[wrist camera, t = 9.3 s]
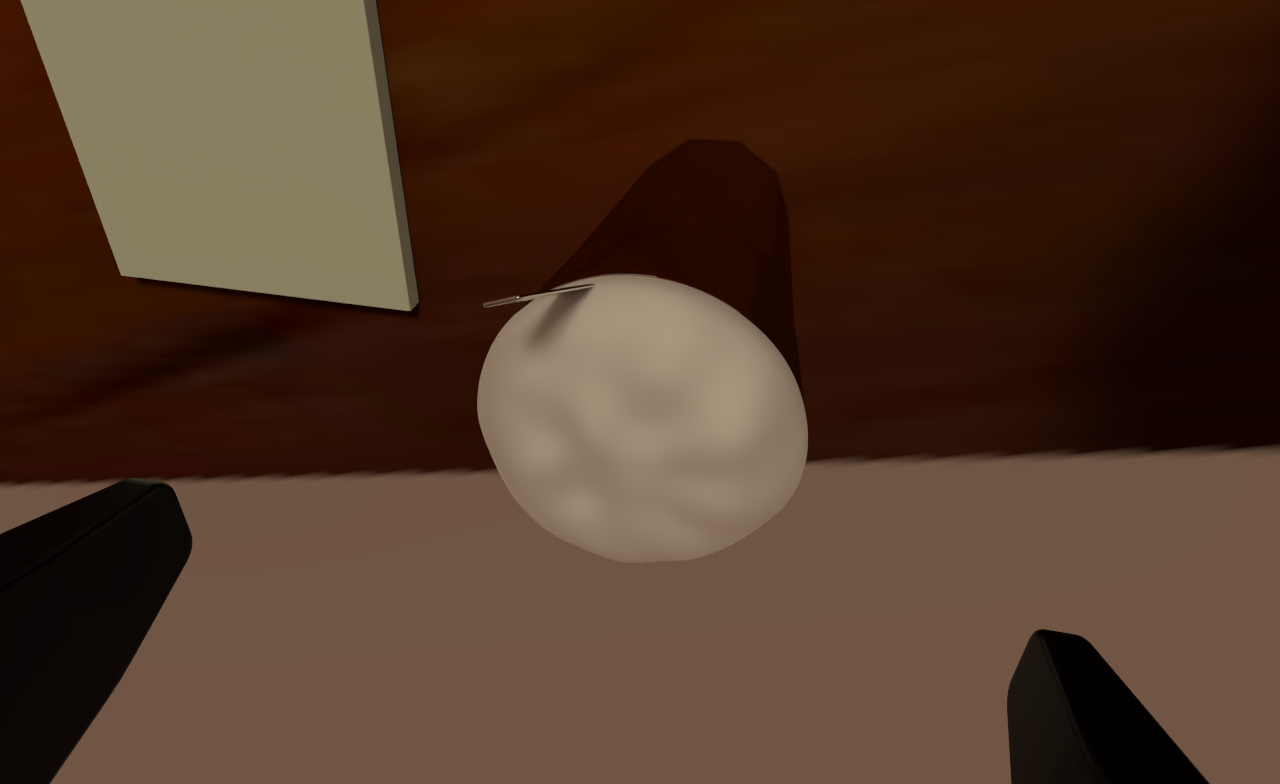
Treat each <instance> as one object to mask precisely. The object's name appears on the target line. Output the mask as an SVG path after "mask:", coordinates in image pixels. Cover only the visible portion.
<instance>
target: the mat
mask: <svg viewBox="0 0 1280 784" xmlns="http://www.w3.org/2000/svg"><path fill="white" fill-rule="evenodd" d="M21 3H22V5H23V8H24V11H25V14H26V16H27V19H28V22H29V24H30V27H31V30H32V33H33V35H34V38H35V41H36V44H37V46H38V49H39V52H40V55H41V57H42V60H43V63H44V65H45V68H46V71H47V74H48V76H49V79H50V82H51V85H52V87H53V90H54V93H55V96H56V98H57V101H58V104H59V106H60V109H61V112H62V115H63V117H64V120H65V123H66V126H67V128H68V131H69V134H70V137H71V139H72V142H73V145H74V147H75V150H76V153H77V156H78V158H79V161H80V164H81V167H82V169H83V172H84V175H85V178H86V180H87V183H88V186H89V188H90V191H91V194H92V197H93V199H94V202H95V205H96V208H97V210H98V213H99V216H100V219H101V221H102V224H103V227H104V229H105V232H106V235H107V238H108V240H109V243H110V246H111V249H112V251H113V254H114V257H115V260H116V262H117V265H118V268H119V270H120V273H121V275H123V276H131V277H139V278H147V279H155V280H163V281H171V282H179V283H187V284H195V285H203V286H211V287H219V288H227V289H235V290H243V291H251V292H259V293H267V294H275V295H284V296H292V297H300V298H308V299H316V300H324V301H332V302H340V303H348V304H356V305H364V306H372V307H380V308H388V309H396V310H404V311H411V310H412V309H413V308H414V307H415V306H416V305H417V303H418V302H419V299H418V292H417V285H416V278H415V271H414V264H413V257H412V250H411V243H410V236H409V229H408V222H407V215H406V208H405V201H404V194H403V187H402V180H401V173H400V166H399V159H398V152H397V145H396V138H395V131H394V124H393V117H392V110H391V103H390V96H389V89H388V82H387V75H386V68H385V61H384V54H383V47H382V40H381V33H380V26H379V19H378V12H377V5H376V0H21Z"/></svg>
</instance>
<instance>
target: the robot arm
mask: <svg viewBox="0 0 1280 784" xmlns="http://www.w3.org/2000/svg"><path fill="white" fill-rule="evenodd" d="M191 549H192V535H191V532H190V529H189V527H188V524H187V522H186V519H185V517H184V514H183V512H182V509H181V507H180V504H179V501H178V499H177V496H176V494H175V492H174V490H173V489H172V488H171V487H170V486H169V485H168V484H166V483H164V482H159V481H153V480H147V479H141V478H130V479H126V480H123V481H121V482H118V483H116V484H114V485H111V486H109V487H107V488H105V489H102V490H100V491H98V492H95V493H93V494H91V495H89V496H86V497H84V498H82V499H79V500H77V501H75V502H73V503H70V504H68V505H66V506H64V507H61V508H59V509H57V510H54V511H52V512H50V513H47V514H45V515H43V516H41V517H38V518H36V519H34V520H31V521H29V522H27V523H25V524H22V525H20V526H18V527H15V528H13V529H11V530H9V531H6V532H4V533H2V534H0V784H50V783H51V781H52V780H53V779H54V777H55V776H56V774H57V773H58V771H59V770H60V768H61V767H62V765H63V764H64V762H65V761H66V760H67V758H68V757H69V755H70V754H71V752H72V751H73V749H74V748H75V746H76V745H77V743H78V742H79V741H80V739H81V738H82V736H83V735H84V733H85V732H86V730H87V729H88V728H89V726H90V724H91V723H92V721H93V720H94V719H95V717H96V716H97V714H98V713H99V711H100V710H101V709H102V707H103V706H104V704H105V703H106V701H107V700H108V698H109V697H110V695H111V693H112V692H113V691H114V689H115V687H116V686H117V684H118V683H119V681H120V680H121V678H122V676H123V675H124V673H125V671H126V669H127V668H128V666H129V664H130V663H131V661H132V659H133V657H134V656H135V654H136V652H137V650H138V648H139V647H140V645H141V643H142V641H143V640H144V638H145V636H146V634H147V632H148V630H149V629H150V627H151V625H152V623H153V621H154V620H155V618H156V616H157V614H158V612H159V610H160V609H161V607H162V605H163V604H164V602H165V600H166V598H167V596H168V595H169V592H170V591H171V589H172V587H173V585H174V584H175V582H176V580H177V578H178V576H179V575H180V573H181V571H182V569H183V567H184V566H185V564H186V562H187V560H188V558H189V556H190V553H191ZM1007 715H1008V730H1009V731H1008V732H1009V748H1010V766H1011V783H1012V784H1210V783H1209V782H1208V781H1207V780H1206V779H1205V778H1204V776H1203V775H1202V774H1201V773H1200V772H1199V771H1198V769H1197V768H1196V767H1195V766H1194V765H1193V763H1192V762H1191V761H1190V760H1189V759H1188V757H1187V756H1186V755H1185V754H1184V753H1183V752H1182V750H1181V749H1180V748H1179V747H1178V746H1177V745H1176V743H1174V741H1173V740H1172V739H1171V738H1170V736H1169V735H1168V734H1167V733H1166V732H1165V730H1164V729H1163V728H1162V727H1161V726H1160V725H1159V723H1158V722H1157V721H1156V720H1155V719H1154V718H1153V716H1152V715H1151V714H1150V713H1149V712H1148V710H1147V709H1146V708H1145V707H1144V706H1143V705H1142V704H1141V702H1140V701H1139V700H1138V699H1137V697H1136V696H1135V695H1134V694H1133V693H1132V692H1131V690H1130V689H1129V688H1128V687H1127V686H1126V685H1125V683H1124V682H1123V681H1122V680H1121V679H1120V677H1119V676H1118V675H1117V674H1116V673H1115V672H1114V671H1113V669H1112V668H1111V667H1110V666H1109V665H1108V663H1107V662H1106V661H1105V660H1104V659H1103V657H1102V656H1101V655H1100V654H1099V653H1098V652H1097V650H1096V649H1095V648H1094V647H1093V646H1092V645H1091V644H1090V642H1088V641H1087V640H1086V639H1085V638H1083V637H1081V636H1079V635H1074V634H1069V633H1063V632H1057V631H1050V630H1044V629H1042V630H1037V631H1035V632H1034V633H1033V634H1032V636H1031V638H1030V639H1029V641H1028V643H1027V646H1026V648H1025V650H1024V652H1023V655H1022V657H1021V659H1020V661H1019V664H1018V666H1017V668H1016V670H1015V673H1014V675H1013V677H1012V679H1011V682H1010V685H1009V689H1008V697H1007Z"/></svg>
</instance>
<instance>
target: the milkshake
mask: <svg viewBox="0 0 1280 784" xmlns="http://www.w3.org/2000/svg"><path fill="white" fill-rule="evenodd" d="M526 300H529V301H528V302H527V303H526V304H525V305H524V306H523V307H522V308H521V310H520V311H519V312H517V313H516V314H515V315H514V316H513V317H512V318H511V319H510V320H509V321H508V322H507V323H506V325H505V326H504V327H503V328H502V330H501V331H500V332H499V334H498V335H497V337H496V339H495V340H494V342H493V344H492V346H491V348H490V350H489V352H488V355H487V357H486V360H485V362H484V365H483V369H482V372H481V376H480V381H479V388H478V400H477V408H478V417H479V422H480V427H481V430H482V433H483V436H484V439H485V441H486V444H487V446H488V449H489V451H490V453H491V456H492V458H493V460H494V463H495V465H496V467H497V469H498V471H499V473H500V475H501V477H502V479H503V481H504V483H505V484H506V486H507V488H508V489H509V491H510V493H511V494H512V496H513V497H514V498H515V500H516V501H517V502H518V504H519V505H520V506H521V507H522V508H523V509H524V510H525V511H526V513H527V514H528V515H529V516H530V517H531V518H532V519H533V520H535V521H536V522H537V523H538V524H539V525H540V526H541V527H543V528H544V529H546V530H547V531H549V532H550V533H551V534H553V535H554V536H556V537H558V538H560V539H561V540H563V541H565V542H567V543H570V544H572V545H574V546H576V547H579V548H581V549H584V550H586V551H589V552H591V553H594V554H596V555H599V556H601V557H604V558H607V559H609V560H613V561H616V562H621V563H647V562H660V561H684V560H691V559H696V558H700V557H703V556H706V555H709V554H712V553H715V552H717V551H720V550H722V549H724V548H726V547H728V546H730V545H732V544H734V543H736V542H737V541H739V540H741V539H742V538H744V537H746V536H747V535H749V534H750V533H752V532H753V531H755V530H756V529H758V528H759V527H760V526H762V525H763V524H765V523H766V522H767V521H769V520H770V519H771V518H772V517H773V516H774V515H776V514H777V513H778V512H779V511H780V510H781V509H782V508H783V507H784V506H785V505H786V503H787V502H788V501H789V499H790V498H791V497H792V495H793V494H794V492H795V490H796V488H797V486H798V484H799V482H800V479H801V476H802V474H803V471H804V467H805V462H806V457H807V447H808V430H807V420H806V414H805V406H804V397H803V388H802V380H801V371H800V363H799V355H798V346H797V338H796V331H795V324H794V309H793V291H792V272H791V254H790V235H789V221H788V216H787V212H786V208H785V204H784V200H783V196H782V191H781V187H780V183H779V179H778V174H777V173H776V172H775V171H774V170H773V169H771V168H770V167H769V166H768V165H766V164H765V163H764V162H763V161H761V160H760V159H759V158H758V157H756V156H755V155H754V154H753V153H752V152H750V151H749V150H748V149H747V148H746V147H744V146H743V145H742V144H741V143H739V142H726V141H708V140H691V139H690V140H688V141H687V142H685V143H684V144H682V145H681V146H679V147H678V148H676V149H675V150H673V151H672V152H670V153H669V154H667V155H666V156H664V157H663V158H661V159H660V160H658V161H657V162H655V163H653V164H652V165H650V166H649V167H648V168H647V169H646V171H645V172H644V173H643V174H642V175H641V176H640V177H639V179H638V180H637V181H636V182H635V183H634V184H633V186H632V187H631V188H630V189H629V190H628V191H627V193H626V194H625V195H624V196H623V197H622V198H621V200H620V201H619V202H618V203H617V204H616V205H615V207H614V208H613V209H612V210H611V211H610V212H609V214H608V215H607V216H606V217H605V218H604V219H603V221H602V222H601V223H600V224H599V225H598V227H597V228H596V229H595V230H594V231H593V232H592V234H591V235H590V236H589V237H588V238H587V240H586V241H585V242H584V243H583V244H582V246H581V247H580V248H579V249H578V250H577V251H576V252H575V253H574V255H573V256H572V257H571V258H570V259H569V260H568V261H567V262H566V263H565V264H564V265H563V266H562V267H561V268H560V269H559V270H558V271H557V272H556V273H555V274H554V275H553V276H552V277H551V278H550V279H549V280H548V282H547V283H546V284H545V285H544V286H543V287H542V288H541V289H540V290H539V291H538V292H535V293H528V294H522V295H516V296H511V297H507V298H502V299H498V300H494V301H489V302H486V303H484V304H483V307H493V306H498V305H504V304H510V303H515V302H521V301H526Z"/></svg>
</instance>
